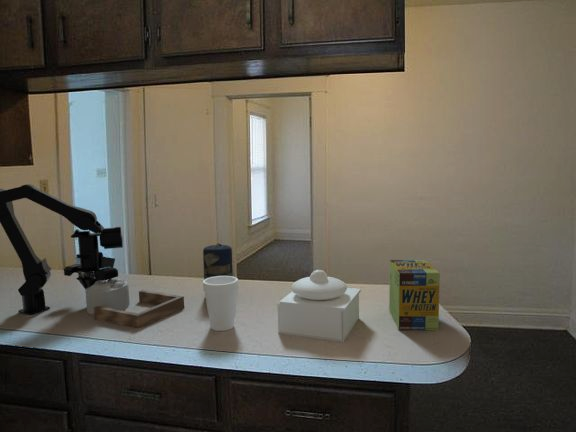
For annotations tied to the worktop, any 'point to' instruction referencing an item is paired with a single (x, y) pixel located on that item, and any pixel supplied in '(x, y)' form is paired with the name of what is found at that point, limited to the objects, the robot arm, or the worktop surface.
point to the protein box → (414, 295)
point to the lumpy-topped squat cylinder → (108, 295)
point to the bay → (137, 320)
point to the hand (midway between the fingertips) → (92, 297)
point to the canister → (217, 261)
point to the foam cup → (221, 301)
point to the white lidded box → (319, 308)
